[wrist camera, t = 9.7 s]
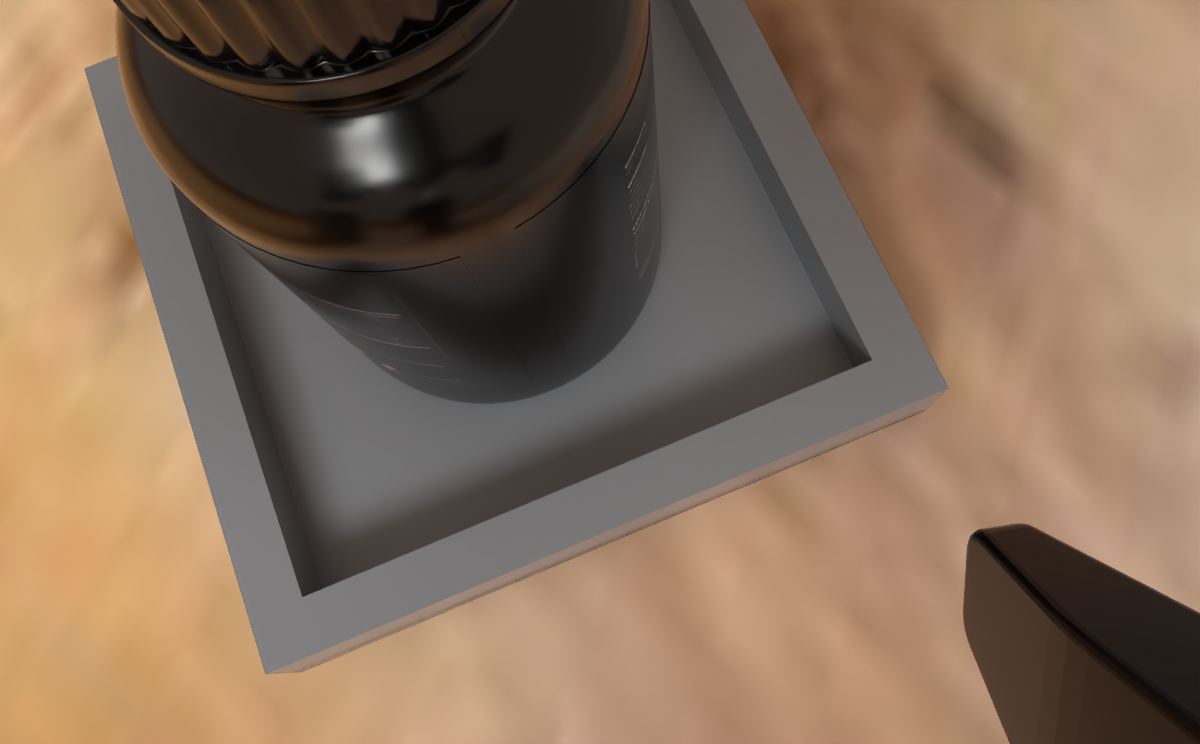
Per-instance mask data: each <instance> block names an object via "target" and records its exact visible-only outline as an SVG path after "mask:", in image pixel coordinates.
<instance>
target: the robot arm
mask: <svg viewBox="0 0 1200 744" xmlns="http://www.w3.org/2000/svg"><path fill="white" fill-rule="evenodd" d="M963 619H964V626H965V632H966V635H967V639H968V642H969V645H970V647H971V650H972V652H973V655H974V657H975V660H976V662H977V665H978V667H979V669H980V672H981V674H982V677H983V679H984V682H985V684H986V687H987V689H988V692H989V694H990V697H991V699H992V701H993V704H994V706H995V709H996V711H997V714H998V716H999V719H1000V721H1001V724H1002V726H1003V728H1004V731H1005V733H1006V736H1007V738H1008V741H1009V743H1010V744H1200V613H1199V612H1197V611H1195V610H1193V609H1191V608H1189V607H1187V606H1186V605H1184V604H1182V603H1180V602H1178V601H1176V600H1174V599H1172V598H1170V597H1168V596H1166V595H1164V594H1162V593H1160V592H1158V591H1157V590H1155V589H1153V588H1151V587H1149V586H1147V585H1145V584H1143V583H1141V582H1139V581H1137V580H1135V579H1133V578H1131V577H1129V576H1128V575H1126V574H1124V573H1122V572H1120V571H1118V570H1116V569H1114V568H1112V567H1110V566H1108V565H1106V564H1104V563H1102V562H1100V561H1099V560H1097V559H1095V558H1093V557H1091V556H1089V555H1087V554H1085V553H1083V552H1081V551H1079V550H1077V549H1075V548H1073V547H1071V546H1070V545H1068V544H1066V543H1064V542H1062V541H1060V540H1058V539H1056V538H1054V537H1052V536H1050V535H1048V534H1046V533H1044V532H1042V531H1040V530H1039V529H1037V528H1035V527H1032V526H1030V525H1027V524H1011V525H1004V526H998V527H991V528H985V529H979V530H977V531H976V532H974V533H973V534H972V535H971V536H970V539H969V541H968V546H967V556H966V572H965V588H964V604H963Z"/></svg>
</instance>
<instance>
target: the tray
mask: <svg viewBox="0 0 1200 744" xmlns="http://www.w3.org/2000/svg"><path fill="white" fill-rule="evenodd" d="M649 2H650V14H651V31H652V49H653V67H654V85H655V103H656V121H657V139H658V157H659V175H660V193H661V249H660V257H659V263H658V267H657V272H656V277H655V280H654V283H653V286H652V289H651V292H650V294H649V297H648V299H647V301H646V303H645V306H644V308H643V310H642V311H641V313H640V315H639V317H638V318H637V320H636V322H635V323H634V325H633V326H632V327H631V329H630V330H629V332H628V333H627V334H626V336H625V337H624V338H623V339H622V340H621V342H620V343H619V344H618V345H617V346H616V347H615V348H614V349H613V350H612V351H611V352H610V353H609V354H608V355H607V356H606V357H605V358H604V359H603V360H602V361H600V362H599V363H598V364H596V365H595V366H594V367H593V368H591V369H590V370H589V371H587V372H586V373H584V374H583V375H581V376H579V377H578V378H576V379H575V380H573V381H571V382H569V383H567V384H565V385H563V386H561V387H559V388H557V389H554V390H552V391H549V392H547V393H544V394H541V395H538V396H534V397H531V398H527V399H523V400H517V401H512V402H504V403H494V404H475V403H465V402H457V401H452V400H447V399H442V398H439V397H436V396H432V395H429V394H426V393H424V392H421V391H419V390H417V389H414V388H412V387H410V386H408V385H406V384H405V383H403V382H401V381H399V380H397V379H396V378H394V377H392V376H391V375H389V374H388V373H386V372H385V371H384V370H382V369H381V368H379V367H378V366H377V365H376V364H374V363H373V362H372V361H371V360H370V359H368V358H367V357H366V356H364V355H363V354H362V353H361V352H360V351H359V350H358V349H356V348H355V347H354V346H353V345H352V344H351V343H349V342H348V341H347V340H346V339H345V338H344V337H343V336H342V335H340V334H339V333H338V332H337V331H336V330H335V329H334V328H332V327H331V326H330V325H329V324H328V323H327V322H326V321H325V320H323V319H322V318H321V317H320V316H319V315H318V314H317V313H315V312H314V311H313V310H312V309H311V308H310V307H309V306H308V305H306V304H305V303H304V302H303V301H302V300H301V299H300V298H298V297H297V296H296V295H295V294H294V293H293V292H292V291H290V290H289V289H288V288H287V287H286V286H285V285H284V284H283V283H281V282H280V281H279V280H278V279H277V278H276V277H275V276H273V275H272V274H271V273H270V272H269V271H268V270H267V269H266V268H264V267H263V266H262V265H261V264H260V263H259V262H258V261H256V260H255V259H254V258H253V257H252V256H251V255H250V254H249V253H247V252H246V251H245V250H244V249H243V248H242V247H241V246H239V245H238V244H237V243H236V242H235V241H234V240H233V239H231V238H230V237H229V236H228V235H227V234H226V233H225V232H224V231H222V230H221V229H220V228H219V227H218V226H217V225H216V224H215V223H213V222H212V221H211V220H210V219H209V218H208V217H207V216H205V215H204V214H203V213H202V212H201V211H200V210H199V209H198V208H197V207H196V206H195V205H194V204H193V203H192V202H191V201H190V200H189V199H188V198H187V197H186V196H185V195H184V193H183V192H182V191H181V190H180V189H179V188H178V187H177V186H176V185H175V184H174V183H173V182H172V180H171V179H170V178H169V177H168V176H167V175H166V174H165V172H164V171H163V170H162V168H161V167H160V166H159V164H158V163H157V161H156V160H155V159H154V157H153V156H152V154H151V153H150V151H149V149H148V147H147V146H146V144H145V142H144V140H143V138H142V137H141V135H140V133H139V131H138V129H137V127H136V124H135V122H134V119H133V117H132V115H131V112H130V110H129V107H128V104H127V100H126V97H125V93H124V90H123V86H122V82H121V77H120V71H119V65H118V59H117V56H115V57H113V58H110V59H108V60H105V61H102V62H100V63H97V64H95V65H92V66H90V67H87V68H84V69H85V72H86V75H87V79H88V82H89V85H90V89H91V92H92V96H93V99H94V102H95V106H96V109H97V112H98V116H99V119H100V122H101V126H102V129H103V132H104V136H105V139H106V142H107V146H108V149H109V152H110V156H111V159H112V162H113V166H114V169H115V173H116V176H117V179H118V183H119V186H120V189H121V193H122V196H123V199H124V203H125V206H126V209H127V213H128V216H129V219H130V223H131V226H132V229H133V233H134V236H135V239H136V243H137V246H138V249H139V253H140V256H141V260H142V263H143V266H144V270H145V273H146V276H147V280H148V283H149V286H150V290H151V293H152V296H153V300H154V303H155V306H156V310H157V313H158V316H159V320H160V323H161V326H162V330H163V333H164V337H165V340H166V343H167V347H168V350H169V353H170V357H171V360H172V363H173V367H174V370H175V373H176V377H177V380H178V383H179V387H180V390H181V393H182V397H183V400H184V403H185V407H186V410H187V414H188V417H189V420H190V424H191V427H192V430H193V434H194V437H195V440H196V444H197V447H198V450H199V454H200V457H201V460H202V464H203V467H204V470H205V474H206V477H207V480H208V484H209V487H210V490H211V494H212V497H213V501H214V504H215V507H216V511H217V514H218V517H219V521H220V524H221V527H222V531H223V534H224V537H225V541H226V544H227V547H228V551H229V554H230V557H231V561H232V564H233V567H234V571H235V574H236V578H237V581H238V584H239V588H240V591H241V594H242V598H243V601H244V604H245V608H246V611H247V614H248V618H249V621H250V624H251V628H252V631H253V634H254V638H255V641H256V644H257V648H258V651H259V655H260V658H261V661H262V665H263V668H264V671H265V674H280V673H294V672H303V671H305V670H308V669H310V668H312V667H315V666H317V665H320V664H322V663H324V662H327V661H329V660H331V659H334V658H336V657H339V656H341V655H343V654H346V653H348V652H351V651H353V650H355V649H358V648H360V647H362V646H365V645H367V644H370V643H372V642H374V641H377V640H379V639H382V638H384V637H386V636H389V635H391V634H393V633H396V632H398V631H401V630H403V629H405V628H408V627H410V626H413V625H415V624H417V623H420V622H422V621H424V620H427V619H429V618H432V617H434V616H436V615H439V614H441V613H444V612H446V611H448V610H451V609H453V608H455V607H458V606H460V605H463V604H465V603H467V602H470V601H472V600H474V599H477V598H479V597H482V596H484V595H486V594H489V593H491V592H494V591H496V590H498V589H501V588H503V587H505V586H508V585H510V584H513V583H515V582H517V581H520V580H522V579H525V578H527V577H529V576H532V575H534V574H536V573H539V572H541V571H544V570H546V569H548V568H551V567H553V566H556V565H558V564H560V563H563V562H565V561H567V560H570V559H572V558H575V557H577V556H579V555H582V554H584V553H587V552H589V551H591V550H594V549H596V548H598V547H601V546H603V545H606V544H608V543H610V542H613V541H615V540H617V539H620V538H622V537H625V536H627V535H629V534H632V533H634V532H637V531H639V530H641V529H644V528H646V527H648V526H651V525H653V524H656V523H658V522H660V521H663V520H665V519H668V518H670V517H672V516H675V515H677V514H679V513H682V512H684V511H687V510H689V509H691V508H694V507H696V506H699V505H701V504H703V503H706V502H708V501H710V500H713V499H715V498H718V497H720V496H722V495H725V494H727V493H730V492H732V491H734V490H737V489H739V488H741V487H744V486H746V485H749V484H751V483H753V482H756V481H758V480H760V479H763V478H765V477H768V476H770V475H772V474H775V473H777V472H780V471H782V470H784V469H787V468H789V467H791V466H794V465H796V464H799V463H801V462H803V461H806V460H808V459H811V458H813V457H815V456H818V455H820V454H822V453H825V452H827V451H830V450H832V449H834V448H837V447H839V446H842V445H844V444H846V443H849V442H851V441H853V440H856V439H858V438H861V437H863V436H865V435H868V434H870V433H873V432H875V431H877V430H880V429H882V428H884V427H887V426H889V425H892V424H894V423H896V422H899V421H901V420H904V419H906V418H908V417H911V416H913V415H915V414H918V413H920V412H923V411H924V410H926V409H927V408H928V407H929V406H930V405H931V404H932V403H933V402H934V401H935V400H936V399H938V398H939V397H940V396H941V395H942V394H943V393H944V392H945V391H946V390H947V389H948V386H947V384H946V382H945V380H944V378H943V376H942V375H941V373H940V371H939V369H938V367H937V365H936V363H935V361H934V359H933V357H932V356H931V354H930V352H929V350H928V348H927V346H926V344H925V342H924V340H923V338H922V337H921V335H920V333H919V331H918V329H917V327H916V325H915V323H914V321H913V319H912V318H911V316H910V314H909V312H908V310H907V308H906V306H905V304H904V302H903V300H902V299H901V297H900V295H899V293H898V291H897V289H896V287H895V285H894V283H893V281H892V280H891V278H890V276H889V274H888V272H887V270H886V268H885V266H884V264H883V262H882V261H881V259H880V257H879V255H878V253H877V251H876V249H875V247H874V245H873V243H872V242H871V240H870V238H869V236H868V234H867V232H866V230H865V228H864V226H863V224H862V223H861V221H860V219H859V217H858V215H857V213H856V211H855V209H854V207H853V205H852V204H851V202H850V200H849V198H848V196H847V194H846V192H845V190H844V188H843V186H842V185H841V183H840V181H839V179H838V177H837V175H836V173H835V171H834V169H833V167H832V166H831V164H830V162H829V160H828V158H827V156H826V154H825V152H824V150H823V148H822V147H821V145H820V143H819V141H818V139H817V137H816V135H815V133H814V131H813V129H812V128H811V126H810V124H809V122H808V120H807V118H806V116H805V114H804V112H803V110H802V109H801V107H800V105H799V103H798V101H797V99H796V97H795V95H794V93H793V91H792V90H791V88H790V86H789V84H788V82H787V80H786V78H785V76H784V74H783V72H782V71H781V69H780V67H779V65H778V63H777V61H776V59H775V57H774V55H773V53H772V52H771V50H770V48H769V46H768V44H767V42H766V40H765V38H764V36H763V34H762V33H761V31H760V29H759V27H758V25H757V23H756V21H755V19H754V17H753V15H752V14H751V12H750V10H749V8H748V6H747V4H746V2H745V0H649Z"/></svg>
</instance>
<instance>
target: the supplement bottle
mask: <svg viewBox="0 0 1200 744" xmlns="http://www.w3.org/2000/svg"><path fill="white" fill-rule="evenodd" d="M113 1H114V2H115V4H116V21H115V33H116V51H117V59H118V65H119V71H120V77H121V82H122V86H123V90H124V93H125V97H126V100H127V104H128V107H129V110H130V112H131V115H132V117H133V119H134V122H135V124H136V127H137V129H138V131H139V133H140V135H141V137H142V138H143V140H144V142H145V144H146V146H147V147H148V149H149V151H150V153H151V154H152V156H153V157H154V159H155V160H156V161H157V163H158V164H159V166H160V167H161V168H162V170H163V171H164V172H165V174H166V175H167V176H168V177H169V178H170V179H171V180H172V182H173V183H174V184H175V185H176V186H177V187H178V188H179V189H180V190H181V191H182V192H183V193H184V195H185V196H186V197H187V198H188V199H189V200H190V201H191V202H192V203H193V204H194V205H195V206H196V207H197V208H198V209H199V210H200V211H201V212H202V213H203V214H204V215H205V216H207V217H208V218H209V219H210V220H211V221H212V222H213V223H215V224H216V225H217V226H218V227H219V228H220V229H221V230H222V231H224V232H225V233H226V234H227V235H228V236H229V237H230V238H231V239H233V240H234V241H235V242H236V243H237V244H238V245H239V246H241V247H242V248H243V249H244V250H245V251H246V252H247V253H249V254H250V255H251V256H252V257H253V258H254V259H255V260H256V261H258V262H259V263H260V264H261V265H262V266H263V267H264V268H266V269H267V270H268V271H269V272H270V273H271V274H272V275H273V276H275V277H276V278H277V279H278V280H279V281H280V282H281V283H283V284H284V285H285V286H286V287H287V288H288V289H289V290H290V291H292V292H293V293H294V294H295V295H296V296H297V297H298V298H300V299H301V300H302V301H303V302H304V303H305V304H306V305H308V306H309V307H310V308H311V309H312V310H313V311H314V312H315V313H317V314H318V315H319V316H320V317H321V318H322V319H323V320H325V321H326V322H327V323H328V324H329V325H330V326H331V327H332V328H334V329H335V330H336V331H337V332H338V333H339V334H340V335H342V336H343V337H344V338H345V339H346V340H347V341H348V342H349V343H351V344H352V345H353V346H354V347H355V348H356V349H358V350H359V351H360V352H361V353H362V354H363V355H364V356H366V357H367V358H368V359H370V360H371V361H372V362H373V363H374V364H376V365H377V366H378V367H379V368H381V369H382V370H384V371H385V372H386V373H388V374H389V375H391V376H392V377H394V378H396V379H397V380H399V381H401V382H403V383H405V384H406V385H408V386H410V387H412V388H414V389H417V390H419V391H421V392H424V393H426V394H429V395H432V396H436V397H439V398H442V399H447V400H452V401H457V402H465V403H475V404H494V403H504V402H512V401H517V400H523V399H527V398H531V397H534V396H538V395H541V394H544V393H547V392H549V391H552V390H554V389H557V388H559V387H561V386H563V385H565V384H567V383H569V382H571V381H573V380H575V379H576V378H578V377H579V376H581V375H583V374H584V373H586V372H587V371H589V370H590V369H591V368H593V367H594V366H595V365H596V364H598V363H599V362H600V361H602V360H603V359H604V358H605V357H606V356H607V355H608V354H609V353H610V352H611V351H612V350H613V349H614V348H615V347H616V346H617V345H618V344H619V343H620V342H621V340H622V339H623V338H624V337H625V336H626V334H627V333H628V332H629V330H630V329H631V327H632V326H633V325H634V323H635V322H636V320H637V318H638V317H639V315H640V313H641V311H642V310H643V308H644V306H645V303H646V301H647V299H648V297H649V294H650V292H651V289H652V286H653V283H654V280H655V277H656V272H657V267H658V263H659V257H660V249H661V193H660V175H659V157H658V139H657V121H656V103H655V85H654V67H653V49H652V31H651V14H650V2H649V0H113Z"/></svg>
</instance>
